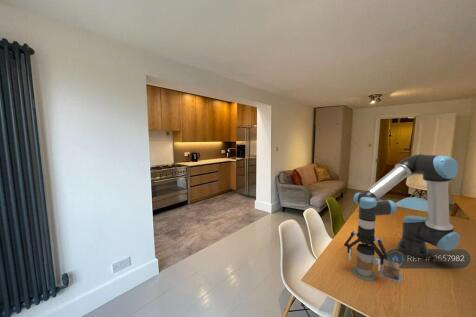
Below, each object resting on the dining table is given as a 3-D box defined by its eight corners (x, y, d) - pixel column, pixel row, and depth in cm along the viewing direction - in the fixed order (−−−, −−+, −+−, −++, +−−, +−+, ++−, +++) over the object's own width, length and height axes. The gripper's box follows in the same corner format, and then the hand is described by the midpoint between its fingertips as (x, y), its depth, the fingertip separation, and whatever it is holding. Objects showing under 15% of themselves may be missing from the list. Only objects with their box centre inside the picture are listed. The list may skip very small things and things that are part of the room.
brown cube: (397, 273, 110) (398, 263, 110) (398, 280, 105) (399, 269, 105) (383, 269, 113) (384, 259, 113) (384, 276, 109) (385, 265, 108)
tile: (385, 260, 123) (385, 259, 123) (382, 267, 116) (382, 266, 116) (367, 254, 129) (367, 254, 129) (364, 260, 123) (364, 260, 123)
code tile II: (402, 275, 110) (402, 274, 110) (400, 283, 103) (400, 283, 103) (382, 267, 116) (382, 267, 116) (379, 275, 109) (379, 275, 109)
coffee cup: (351, 268, 114) (353, 243, 113) (365, 267, 115) (367, 242, 113) (361, 278, 106) (363, 251, 104) (376, 277, 107) (379, 250, 105)
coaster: (377, 273, 111) (377, 272, 111) (373, 284, 103) (373, 283, 103) (354, 265, 118) (355, 264, 118) (349, 274, 110) (349, 273, 110)
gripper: (396, 231, 102) (393, 271, 104) (343, 218, 119) (341, 252, 121) (394, 236, 97) (391, 278, 99) (339, 222, 114) (337, 257, 116)
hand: (364, 264), depth 110 cm, fingers open, 13 cm apart
